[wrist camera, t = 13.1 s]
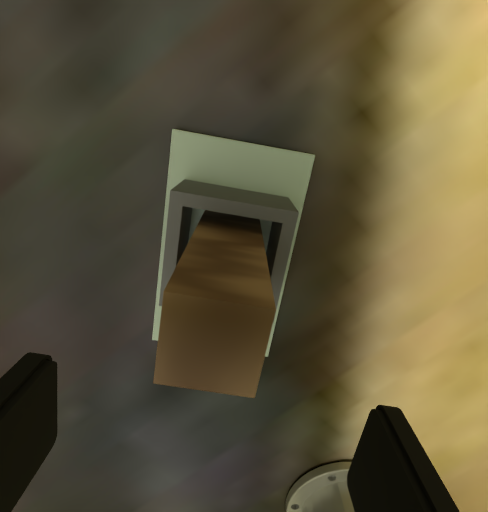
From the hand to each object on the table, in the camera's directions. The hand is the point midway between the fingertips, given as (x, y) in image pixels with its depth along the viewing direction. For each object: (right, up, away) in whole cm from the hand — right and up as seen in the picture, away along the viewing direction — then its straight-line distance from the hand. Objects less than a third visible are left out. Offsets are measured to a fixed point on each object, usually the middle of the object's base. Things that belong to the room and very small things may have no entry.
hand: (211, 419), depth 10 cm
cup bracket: (0, +5, +17) cm, 18 cm away
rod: (0, +6, +16) cm, 17 cm away
